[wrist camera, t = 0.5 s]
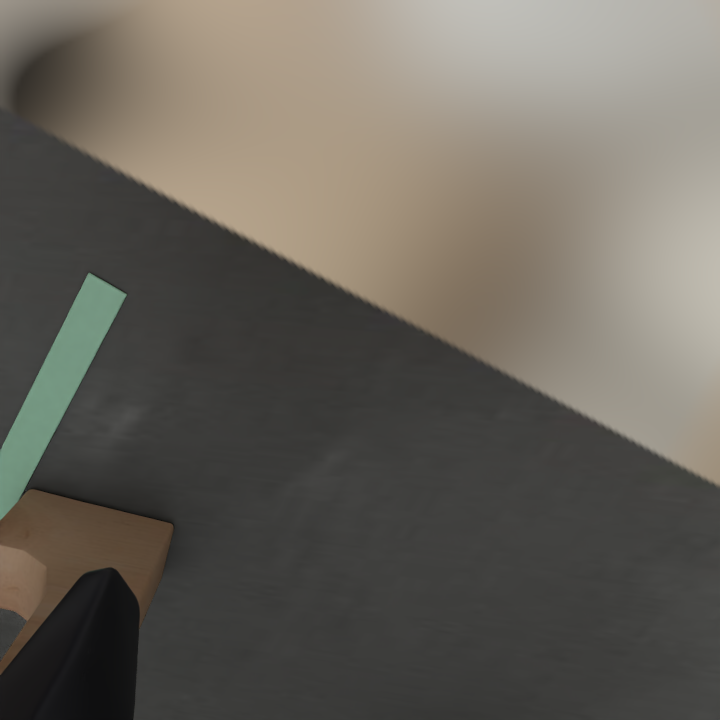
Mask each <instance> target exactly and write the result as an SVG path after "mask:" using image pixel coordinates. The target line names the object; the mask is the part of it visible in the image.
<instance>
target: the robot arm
mask: <svg viewBox="0 0 720 720" xmlns="http://www.w3.org/2000/svg"><path fill="white" fill-rule="evenodd" d="M139 622H140V608H139V603H138V600H137V598H136V596H135V594H134V593H133V592H132V590H131V589H130V587H129V586H128V585H127V583H126V582H125V580H124V579H123V577H122V576H121V575H120V573H119V572H118V571H117V570H116V569H114V568H112V567H107V568H102V569H97V570H93V571H89V572H86V573H84V574H83V575H82V576H81V577H80V578H79V579H78V580H77V581H76V582H75V584H74V585H73V586H72V587H71V589H70V590H69V591H68V592H67V594H66V595H65V596H64V597H63V598H62V600H61V601H60V602H59V603H58V605H57V606H56V607H55V608H54V610H53V611H52V612H51V613H50V614H49V616H48V617H47V618H46V619H45V621H44V622H43V623H42V624H41V625H40V627H39V628H38V629H37V630H36V632H35V633H34V634H33V635H32V637H31V638H30V639H29V640H28V641H27V643H26V644H25V645H24V646H23V648H22V649H21V650H20V651H19V652H18V654H17V655H16V656H15V657H14V659H13V660H12V661H11V662H10V664H9V665H8V666H7V667H6V668H5V670H4V671H3V672H2V673H1V675H0V720H133V717H134V705H135V689H136V672H137V655H138V638H139Z"/></svg>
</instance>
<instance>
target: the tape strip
mask: <svg viewBox="0 0 720 720" xmlns="http://www.w3.org/2000/svg"><path fill="white" fill-rule="evenodd" d="M126 296H127V294H126V293H124V292H122V291H121V290H119V289H117V288H116V287H114V286H112V285H110V284H109V283H107V282H105V281H103V280H102V279H100V278H98V277H96V276H95V275H93V274H91V273H88V275H87V277H86V279H85V281H84V283H83V285H82V287H81V289H80V291H79V293H78V295H77V297H76V299H75V301H74V303H73V305H72V307H71V309H70V311H69V313H68V315H67V317H66V319H65V321H64V323H63V325H62V327H61V329H60V331H59V333H58V335H57V338H56V340H55V342H54V344H53V346H52V348H51V350H50V352H49V354H48V356H47V358H46V360H45V362H44V364H43V366H42V368H41V370H40V372H39V374H38V376H37V378H36V380H35V382H34V384H33V386H32V388H31V390H30V392H29V394H28V396H27V398H26V400H25V402H24V404H23V406H22V408H21V410H20V412H19V414H18V416H17V418H16V420H15V422H14V424H13V426H12V428H11V430H10V432H9V434H8V436H7V438H6V440H5V442H4V444H3V446H2V448H1V450H0V520H1V519H2V518H3V517H4V516H5V515H6V514H7V513H8V512H9V511H10V509H11V508H12V507H13V506H14V505H15V504H16V503H17V502H18V501H19V499H20V497H21V496H22V494H23V492H24V490H25V488H26V486H27V484H28V482H29V480H30V478H31V477H32V475H33V473H34V471H35V469H36V467H37V465H38V463H39V461H40V459H41V458H42V456H43V454H44V452H45V450H46V448H47V446H48V444H49V442H50V440H51V439H52V437H53V435H54V433H55V431H56V429H57V427H58V425H59V423H60V422H61V420H62V418H63V416H64V414H65V412H66V410H67V408H68V406H69V404H70V403H71V401H72V399H73V397H74V395H75V393H76V391H77V389H78V387H79V385H80V384H81V382H82V380H83V378H84V376H85V374H86V372H87V370H88V368H89V366H90V365H91V363H92V361H93V359H94V357H95V355H96V353H97V351H98V349H99V347H100V346H101V344H102V342H103V340H104V338H105V336H106V334H107V332H108V330H109V328H110V327H111V325H112V323H113V321H114V319H115V317H116V315H117V313H118V311H119V310H120V308H121V306H122V304H123V302H124V300H125V298H126Z"/></svg>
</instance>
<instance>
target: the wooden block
mask: <svg viewBox="0 0 720 720" xmlns="http://www.w3.org/2000/svg"><path fill="white" fill-rule="evenodd" d="M173 530H174V528H173V525H172V524H171V523H167V522H163V521H159V520H155V519H151V518H147V517H143V516H139V515H135V514H131V513H126V512H122V511H118V510H114V509H110V508H106V507H102V506H98V505H94V504H90V503H85V502H81V501H77V500H73V499H69V498H66V497H62V496H58V495H54V494H50V493H46V492H42V491H39V490H35V489H30V490H28V491H27V492H26V493H25V494H24V495H23V496H22V497H21V499H20V500H19V501H18V502H17V503H16V504H15V505H14V506H13V507H12V508H11V509H10V511H9V512H8V513H7V514H6V515H5V516H4V517H3V518H2V519H1V520H0V608H3V609H7V610H12V611H15V612H17V613H18V614H19V615H21V616H22V617H23V618H24V619H26V620H27V623H26V624H25V626H24V627H23V629H22V630H21V632H20V633H19V635H18V636H17V638H16V639H15V641H14V642H13V644H12V645H11V646H10V648H9V649H8V651H7V652H6V654H5V655H4V657H3V658H2V660H1V661H0V675H1V673H2V672H3V671H4V670H5V668H6V667H7V666H8V665H9V664H10V662H11V661H12V660H13V659H14V657H15V656H16V655H17V654H18V652H19V651H20V650H21V649H22V648H23V646H24V645H25V644H26V643H27V641H28V640H29V639H30V638H31V637H32V635H33V634H34V633H35V632H36V630H37V629H38V628H39V627H40V625H41V624H42V623H43V622H44V621H45V619H46V618H47V617H48V616H49V614H50V613H51V612H52V611H53V610H54V608H55V607H56V606H57V605H58V603H59V602H60V601H61V600H62V598H63V597H64V596H65V595H66V594H67V592H68V591H69V590H70V589H71V587H72V586H73V585H74V584H75V582H76V581H77V580H78V579H79V578H80V577H81V576H82V575H83V574H84V573H86V572H89V571H93V570H97V569H102V568H107V567H112V568H114V569H116V570H117V571H118V572H119V573H120V575H121V576H122V577H123V579H124V580H125V582H126V583H127V585H128V586H129V587H130V589H131V590H132V592H133V593H134V594H135V596H136V598H137V600H138V603H139V608H140V622H139V629H140V627H141V624H142V622H143V620H144V617H145V615H146V613H147V610H148V608H149V606H150V603H151V601H152V599H153V597H154V594H155V592H156V590H157V587H158V585H159V583H160V580H161V578H162V574H163V570H164V566H165V562H166V558H167V554H168V550H169V546H170V542H171V538H172V534H173Z"/></svg>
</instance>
